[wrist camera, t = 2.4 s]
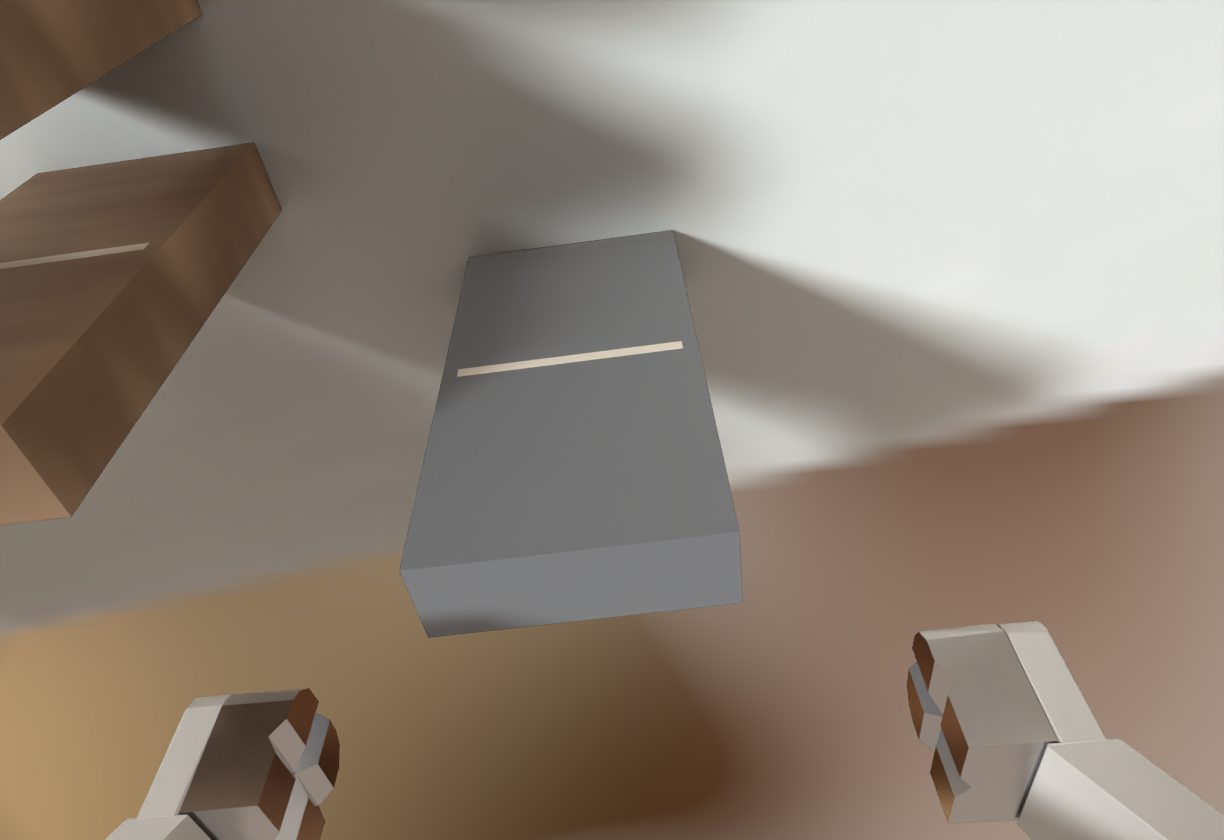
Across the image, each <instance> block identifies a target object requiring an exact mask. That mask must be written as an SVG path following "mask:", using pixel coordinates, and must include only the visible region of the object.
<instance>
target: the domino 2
mask: <svg viewBox="0 0 1224 840" xmlns="http://www.w3.org/2000/svg"><path fill="white" fill-rule="evenodd" d="M281 211H282V210H281V207H280V205H279V202H278V200H277V198H276V195H275V193H274V190H273V188H272V185H271V183H270V180H269V178H268V175H267V173H266V170H265V168H264V165H263V163H262V160H261V158H260V155H259V153H258V151H257V148H256V146H255V143H247V144H240V145H233V146H226V147H219V148H212V149H205V150H198V151H191V152H184V153H177V154H170V155H163V156H156V157H149V158H142V159H135V160H128V161H121V162H114V163H107V164H100V165H93V166H86V167H79V168H72V169H65V170H58V171H51V172H44V173H37V174H36V175H35V176H33V177H32V178H30V179H29V180H28V181H26V182H25V183H24V184H22V185H21V186H19V187H18V188H17V189H15V190H14V191H12V192H11V193H10V194H8V195H7V196H6V197H4V198H3V199H1V200H0V525H7V524H15V523H23V522H31V521H40V520H48V519H56V518H65V517H71V516H72V515H73V513H74V512H75V511H76V509H77V508H78V506H79V505H80V503H81V502H82V500H83V499H84V497H85V496H86V495H87V493H88V492H89V490H90V489H91V487H92V486H93V484H94V483H95V481H96V480H97V479H98V477H99V476H100V474H101V473H102V471H103V470H104V468H105V467H106V465H107V464H108V463H109V461H110V460H111V458H112V457H113V455H114V454H115V452H116V451H117V449H118V448H119V447H120V445H121V444H122V442H123V441H124V439H125V438H126V436H127V435H128V433H129V432H130V431H131V429H132V428H133V426H134V425H135V423H136V422H137V420H138V419H139V417H140V416H141V415H142V413H143V412H144V410H145V409H146V407H147V406H148V404H149V403H150V401H151V400H152V399H153V397H154V396H155V394H156V393H157V391H158V390H159V388H160V387H161V385H162V384H163V383H164V381H165V380H166V378H167V377H168V375H169V374H170V372H171V371H172V369H173V368H174V367H175V365H176V364H177V362H178V361H179V359H180V358H181V356H182V355H183V353H184V352H185V351H186V349H187V348H188V346H189V345H190V343H191V342H192V340H193V339H194V337H195V336H196V335H197V333H198V332H199V330H200V329H201V327H202V326H203V324H204V323H205V321H206V320H207V319H208V317H209V316H210V314H211V313H212V311H213V310H214V308H215V307H216V305H217V304H218V303H219V301H220V300H221V298H222V297H223V295H224V294H225V292H226V291H227V289H228V288H229V287H230V285H231V284H232V282H233V281H234V279H235V278H236V276H237V275H238V273H239V272H240V270H241V269H242V268H243V266H244V265H245V263H246V262H247V260H248V259H249V257H250V256H251V254H252V253H253V252H254V250H255V249H256V247H257V246H258V244H259V243H260V241H261V240H262V238H263V237H264V236H265V234H266V233H267V231H268V230H269V228H270V227H271V225H272V224H273V222H274V221H275V220H276V218H277V217H278V215H279V214H280V212H281Z"/></svg>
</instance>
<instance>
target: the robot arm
mask: <svg viewBox="0 0 1224 840" xmlns="http://www.w3.org/2000/svg"><path fill="white" fill-rule="evenodd" d="M912 649H913V652H914V654H915V657H916V660H917V662H916V663H915V664H914V665H913V666H912V667H910V668H909V672H908V680H907V690H908V701H909V707H910V711H911V715H912V719H913V723H914V726H915V729H916V732H917V735H918V738H919V740H920V741H921V742H922V743H923V744H925V745H926V746H927V747H928V748H929V749H930V750H932V751H933V752H934V757H933V762H932V767H931V771H930V774H931V776H932V779H933V782H934V785H935V787H936V791H937V794H938V796H939V799H940V802H941V805H942V808H943V811H944V814H945V816H946V819H947V822H948V824H951V823H952V824H953V823H972V822H993V821H1013V820H1018V823H1017V825H1018V826H1020V828H1021V829H1022V830H1023V831H1024V832H1025V833H1026V834H1027V835H1028V836H1029V837H1030V838H1031V839H1032V840H1224V815H1223V814H1222V813H1221V812H1219V811H1218V810H1216V809H1215V808H1214V807H1212V806H1211V805H1210V804H1208V803H1207V802H1206V801H1204V800H1203V799H1202V798H1200V797H1199V796H1197V795H1196V794H1195V793H1193V792H1192V791H1191V790H1189V789H1188V788H1187V787H1185V786H1184V785H1182V784H1181V783H1180V782H1179V781H1177V780H1176V779H1174V778H1173V777H1172V776H1170V775H1169V774H1168V773H1166V772H1165V771H1164V770H1162V769H1161V768H1160V767H1158V766H1157V765H1155V764H1154V763H1153V762H1151V761H1150V760H1149V759H1147V758H1146V757H1145V756H1143V755H1142V754H1141V753H1139V752H1138V751H1137V750H1135V749H1134V748H1132V747H1131V746H1130V745H1128V744H1127V743H1126V742H1124V741H1123V740H1121V739H1120V738H1110V739H1107V738H1106V736H1105V734H1104V732H1103V730H1102V729H1101V727H1100V725H1099V723H1098V721H1097V720H1096V718H1095V716H1094V714H1093V712H1092V710H1091V709H1090V706H1089V705H1088V703H1087V701H1086V699H1085V697H1084V695H1083V694H1082V692H1081V690H1080V688H1079V686H1078V685H1077V683H1076V681H1075V679H1074V677H1073V675H1072V674H1071V672H1070V670H1069V668H1068V666H1067V665H1066V663H1065V661H1064V659H1063V657H1062V655H1061V653H1060V652H1059V650H1058V648H1057V646H1056V644H1055V642H1054V641H1053V639H1052V637H1051V635H1050V633H1049V631H1048V630H1047V628H1046V627H1045V626H1044V625H1042V624H1041V623H1040V622H1039V621H1025V622H1015V623H1007V624H998V625H995V624H986V625H976V626H967V627H958V628H949V629H939V630H930V631H921V632H918V633H917V634H916V635H915V637H914V642H913V647H912ZM317 706H318V700H317V699H316V697H315V696H314V695H313V693H312V692H311V690H310V689H309V688H307V689H294V690H282V691H270V692H258V693H245V694H227V695H217V696H206V697H197V698H196V699H195V700H194V701H193V702H192V703H191V704H190V705H189V706H188V707H187V709H186V710H185V712H184V714H183V716H182V718H181V721H180V723H179V725H178V728H177V730H176V732H175V734H174V736H173V739H172V741H171V743H170V745H169V748H168V750H167V752H166V754H165V756H164V759H163V761H162V763H161V765H160V768H159V770H158V772H157V774H156V776H155V779H154V781H153V783H152V786H151V788H150V790H149V792H148V794H147V797H146V799H145V801H144V803H143V806H142V808H141V810H140V812H139V814H138V817H137V818H132V819H126V820H125V821H124V822H123V823H122V824H121V825H120V826H119V827H118V828H116V830H114V831H113V832H112V833H111V834H110V835H109V836H108V837H107V838H106V839H105V840H320V839H321V835H322V831H323V828H324V824H325V820H324V817H323V815H322V812H321V810H320V808H319V806H318V805H319V804H320V803H321V802H322V801H323V800H324V799H325V798H326V796H327V795H328V794H329V793H330V792H331V790H332V789H334V785H335V781H336V777H337V773H338V769H339V747H340V745H339V741H338V736H337V732H336V729H335V728H334V726H333V724H332V723H331V721H330V720H329V719H327V718H325V717H323V716H321V715H319V714H317V713H316V709H317Z"/></svg>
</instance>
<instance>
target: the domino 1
mask: <svg viewBox="0 0 1224 840" xmlns="http://www.w3.org/2000/svg"><path fill="white" fill-rule="evenodd" d="M200 15H202V12H201V10H200V7H199V5H198V2H197V0H0V140H1V139H2V138H4V137H6V136H7V135H9V134H10V133H12V132H14V131H15V130H17V129H19V128H20V127H22V126H23V125H25V124H27V123H28V122H30V121H31V120H33V119H35V118H36V117H38V116H39V115H41V114H43V113H44V112H46V111H47V110H49V109H51V108H52V107H54V106H56V105H57V104H59V103H60V102H62V101H64V100H65V99H67V98H68V97H70V96H72V95H73V94H75V93H76V92H78V91H80V90H81V89H83V88H85V87H86V86H88V85H89V84H91V83H93V82H94V81H96V80H97V79H99V78H101V77H102V76H104V75H105V74H107V73H109V72H110V71H112V70H113V69H115V68H117V67H118V66H120V65H122V64H123V63H125V62H126V61H128V60H130V59H131V58H133V57H134V56H136V55H138V54H139V53H141V52H142V51H144V50H146V49H147V48H149V47H150V46H152V45H154V44H155V43H157V42H159V41H160V40H162V39H163V38H165V37H167V36H168V35H170V34H171V33H173V32H175V31H176V30H178V29H179V28H181V27H183V26H184V25H186V24H187V23H189V22H191V21H192V20H194V19H196V18H197V17H199V16H200Z"/></svg>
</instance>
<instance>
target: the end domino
mask: <svg viewBox="0 0 1224 840" xmlns="http://www.w3.org/2000/svg"><path fill="white" fill-rule="evenodd" d="M399 571H400V574H401V576H402V578H403V581H404V583H405V585H406V587H407V590H408V592H409V595H410V597H411V599H412V601H413V604H414V606H415V608H416V611H417V613H418V615H419V617H420V620H421V622H422V624H423V626H424V629H425V631H426V633H427V635H428V637H429V638H430V637H439V636H447V635H456V634H465V633H475V632H483V631H492V630H502V629H511V628H520V627H528V626H538V625H547V624H556V623H565V622H574V621H583V620H592V619H601V618H610V617H619V616H628V615H636V614H646V613H655V612H664V611H673V610H682V609H691V608H700V607H709V606H718V605H727V604H736V603H743V596H742V571H741V547H740V530H739V526H738V521H737V517H736V512H735V508H734V503H733V499H732V494H731V490H730V485H729V481H728V476H727V472H726V467H725V463H724V458H723V454H722V449H721V445H720V440H719V436H718V431H717V427H716V422H715V418H714V413H713V409H712V404H711V400H710V395H709V391H708V386H707V382H706V377H705V373H704V368H703V364H702V359H701V355H700V350H699V346H698V341H697V337H696V332H695V328H694V323H693V319H692V314H691V310H690V305H689V301H688V296H687V292H686V287H685V283H684V278H683V274H682V269H681V265H680V260H679V256H678V251H677V247H676V242H675V238H674V233H673V230H670V231H663V232H655V233H648V234H641V235H633V236H626V237H618V238H611V239H603V240H596V241H588V242H581V243H573V244H566V245H559V246H551V247H544V248H536V249H529V250H521V251H514V252H506V253H499V254H491V255H484V256H477V257H469V259H468V264H467V268H466V273H465V277H464V282H463V286H462V291H461V295H460V300H459V304H458V309H457V313H456V318H455V322H454V327H453V331H452V336H451V340H450V345H449V349H448V354H447V358H446V363H445V367H444V372H443V376H442V381H441V385H440V390H439V394H438V399H437V403H436V408H435V412H434V417H433V421H432V426H431V430H430V435H429V439H428V444H427V448H426V453H425V457H424V462H423V466H422V471H421V475H420V480H419V484H418V489H417V493H416V498H415V502H414V507H413V511H412V516H411V520H410V525H409V529H408V534H407V538H406V543H405V547H404V552H403V556H402V561H401V566H400V570H399Z"/></svg>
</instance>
